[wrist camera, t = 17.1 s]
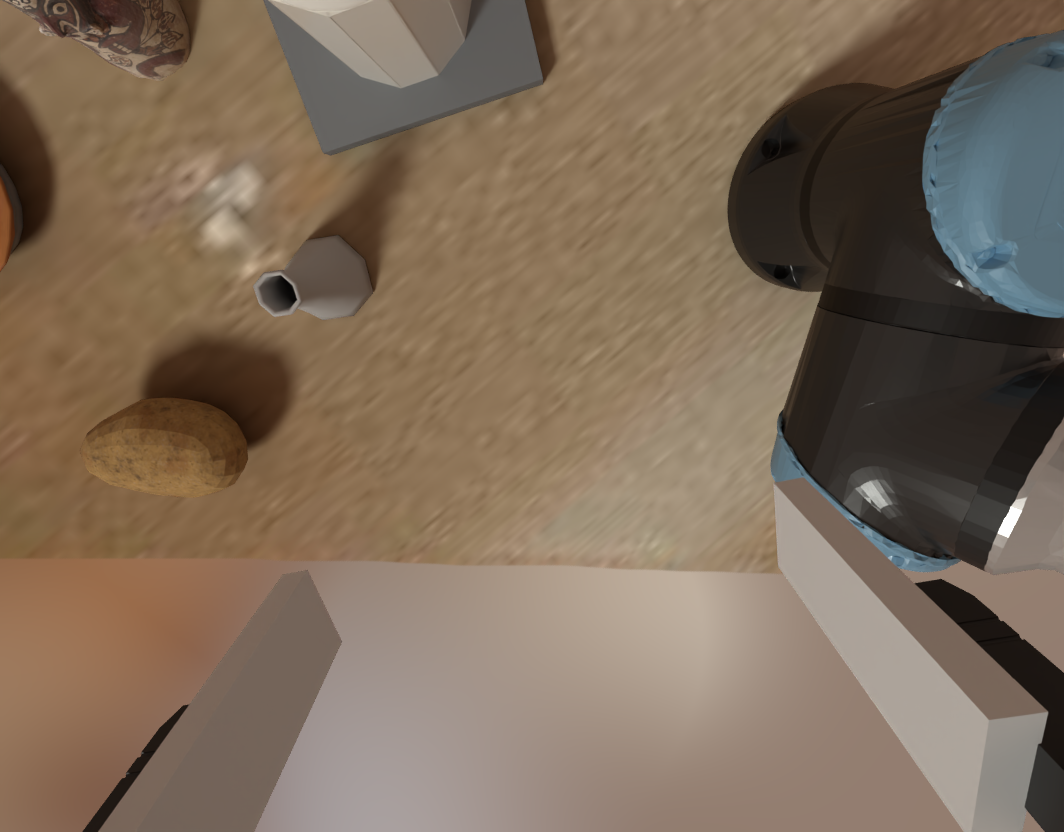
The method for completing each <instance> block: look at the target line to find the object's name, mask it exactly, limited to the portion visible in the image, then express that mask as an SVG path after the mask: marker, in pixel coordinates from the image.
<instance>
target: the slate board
mask: <svg viewBox="0 0 1064 832" xmlns="http://www.w3.org/2000/svg"><path fill="white" fill-rule="evenodd" d="M264 3H265V6H266V8H267V11H268V13H269V16H270V18H271V21H272V23H273V26H274V29H275V31H276V34H277V36H278V39H279V41H280V44H281V46H282V49H283V52H284V54H285V57H286V59H287V62H288V64H289V67H290V70H291V72H292V75H293V77H294V80H295V82H296V85H297V87H298V90H299V93H300V95H301V98H302V100H303V103H304V105H305V108H306V110H307V113H308V116H309V118H310V121H311V123H312V126H313V128H314V131H315V134H316V136H317V139H318V141H319V144H320V146H321V149H322V151H323V153H324V154H328V155H333V154H336V153H339V152H342V151H345V150H348V149H351V148H354V147H357V146H360V145H363V144H366V143H369V142H372V141H375V140H378V139H381V138H384V137H387V136H390V135H393V134H396V133H399V132H402V131H405V130H408V129H411V128H413V127H416V126H419V125H422V124H425V123H428V122H431V121H434V120H437V119H440V118H443V117H446V116H449V115H452V114H455V113H458V112H461V111H464V110H467V109H470V108H473V107H476V106H479V105H482V104H485V103H488V102H491V101H494V100H497V99H500V98H503V97H506V96H509V95H512V94H515V93H518V92H520V91H523V90H526V89H529V88H532V87H535V86H538V85H541V84H543V76H542V72H541V68H540V64H539V59H538V55H537V51H536V47H535V42H534V38H533V34H532V30H531V25H530V21H529V17H528V12H527V8H526V4H525V0H472V1H471V7H470V13H469V19H468V25H467V31H466V37H465V41H464V42H463V44H462V45H461V46H460V48H459V49H458V50H457V52H456V53H455V54H454V56H453V57H452V58H451V60H450V61H449V62H448V63H447V65H446V66H445V67H444V69H443V70H442V71H441V73H440V74H439V75H438V76H435V77H432V78H429V79H427V80H424V81H421V82H418V83H415V84H412V85H409V86H406V87H403V88H401V89H400V88H398V87H395V86H391V85H388V84H384V83H381V82H377V81H374V80H370V79H367V78H363V77H360V76H359V75H358V74H357V73H356V72H354V71H353V70H352V69H351V68H350V67H348V66H347V65H346V64H345V63H344V62H342V61H341V60H340V59H339V58H337V57H336V56H335V55H334V54H333V53H331V52H330V51H329V50H328V49H327V48H325V47H324V46H323V45H322V44H320V43H319V42H318V41H317V40H316V39H314V38H313V37H312V36H311V35H310V34H308V33H307V32H306V31H305V30H304V29H302V28H301V27H300V26H299V25H297V24H296V23H295V22H294V21H293V20H291V19H290V18H289V17H288V16H287V15H285V14H284V13H283V12H282V11H280V10H279V9H278V8H277V7H276V6H274V5H273V4H272V3H271V2H270V1H268V0H264Z"/></svg>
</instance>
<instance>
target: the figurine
mask: <svg viewBox="0 0 1064 832" xmlns="http://www.w3.org/2000/svg"><path fill="white" fill-rule="evenodd" d="M3 1H5V2H7V3H8V4H10V5H12V6H14V7H16V8H17V9H19V10H20V11H22V12H23V13H25V14H27V15H29V16H30V17H32V18H33V19H34V20H36V21H37V22H38V23H39V24H40V27H39V31H40V32H41V33H43V34H45V35H48V36H57V35H58V36H60V37H62V38H63V37H65V36H66V37H70V38H72V39H74V40H76V41H77V42H79V43H81V44H82V45H84V46H85V47H87V48H89V49H91V50H92V51H94V52H95V53H96V54H97V55H99V56H100V57H101V58H103V59H104V60H106V61H107V62H108V63H110V64H112V65H114V66H116V67H118V68H121V69H123V70H125V71H128V72H129V73H131V74H133V75H135V76H136V77H140V78H149V79H153V80H158V81H162V80H164V79H165V78H166V77H167V76H169V75H171V74H173V73H175V71H176V70H177V69H179V68H181V67H182V66H183V64H184V63H185V62H187V59H188V55H189V50H190V36H189V28H188V25H187V21H186V18H185V16H184V14H183V12H182V9H181V7H180V4H179V2H178V1H177V0H3Z"/></svg>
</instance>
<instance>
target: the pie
mask: <svg viewBox="0 0 1064 832" xmlns="http://www.w3.org/2000/svg"><path fill="white" fill-rule="evenodd" d="M22 229H23V215H22V205H21V203H20V200H19V197H18V194H17V191H16V188H15V185H14V184H13V182H12V180H11V179H10V177H9V175H8V174H7V172H6V170H5V169H4V167H3V165H2V164H1V163H0V272H1V270H2V269H3V267H4V266H5V265H6V263H7V261H8V259H9V256H10V254H11V253H12V251H13V250H14V249H15V247H16V246H17V245H18V243H19V241H20V237H21V233H22Z"/></svg>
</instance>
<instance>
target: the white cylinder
mask: <svg viewBox="0 0 1064 832" xmlns="http://www.w3.org/2000/svg"><path fill="white" fill-rule="evenodd" d="M268 1H270V2H271V3H272V4H273V5H274V6H276V7H277V8H278V9H279V10H280V11H282V12H283V13H284V14H285V15H287V16H288V17H289V18H290V19H291V20H293V21H294V22H295V23H296V24H297V25H299V26H300V27H301V28H302V29H304V30H305V31H306V32H307V33H308V34H310V35H311V36H312V37H313V38H314V39H316V40H317V41H318V42H319V43H320V44H322V45H323V46H324V47H325V48H327V49H328V50H329V51H330V52H331V53H333V54H334V55H335V56H336V57H337V58H339V59H340V60H341V61H342V62H344V63H345V64H346V65H347V66H348V67H350V68H351V69H352V70H353V71H354V72H356V73H357V74H358V75H359V76H360V77H363V78H367V79H370V80H374V81H377V82H381V83H384V84H388V85H391V86H395V87H398V88H400V89H401V88H403V87H406V86H409V85H412V84H415V83H418V82H421V81H424V80H427V79H429V78H432V77H435V76H438V75H439V74H440V73H441V71H442V70H443V69H444V67H445V66H446V65H447V63H448V62H449V61H450V60H451V58H452V57H453V56H454V54H455V53H456V52H457V50H458V49H459V48H460V46H461V45H462V44H463V42H464V41H465V37H466V31H467V25H468V19H469V13H470V7H471V1H472V0H268Z"/></svg>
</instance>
